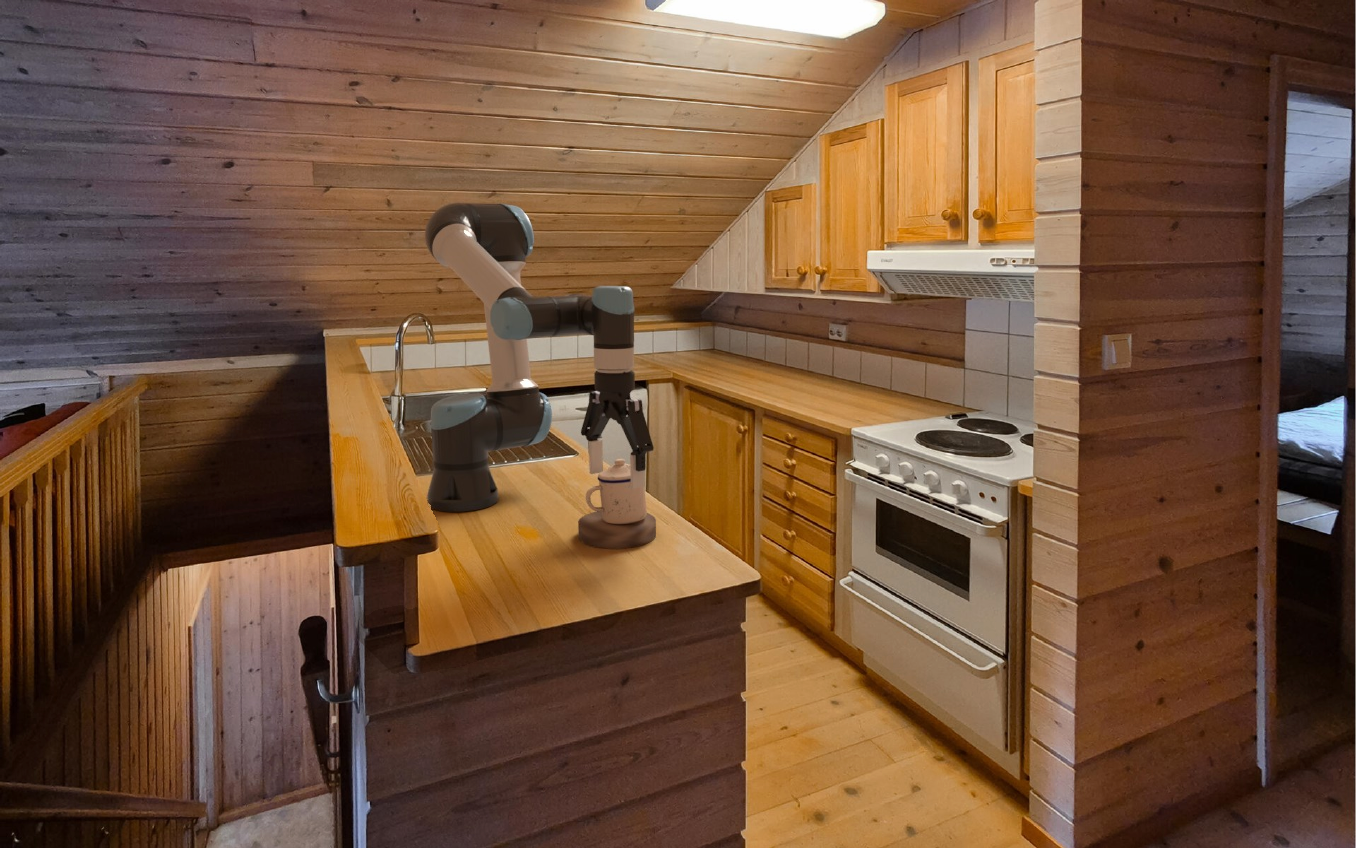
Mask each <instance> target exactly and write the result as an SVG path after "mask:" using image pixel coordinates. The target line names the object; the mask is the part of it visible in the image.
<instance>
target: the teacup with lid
mask: <svg viewBox="0 0 1356 848" xmlns="http://www.w3.org/2000/svg"><path fill="white" fill-rule="evenodd" d="M597 481H598V482H599V484H598V485H595V486H592V487H590V488H589V489H588V490H586V493H585V501H586V504H587V506H588V507H589V509H591V510H592V511H593V512H597V511H602V516H603V520H604V521H605V522H607V523H611V524H628V523H633V522H637V521H640V520H642V519H644V518H645V517H646V515H647V513H648V512H647V511H648V510H647V501H646V489H645V486H644V487H639V488H635V489H632V488H631V473H630V463H626V460H625V459H624V458H618V459H615V460H614V464H613V465H611V466H609V467H608V468H607V469H603V471H602V472H600V473H598V475H597ZM596 491H599V493H600V504H601V506H597V507H596V506H594V505H593V503H592V501H591V496H592V495H593V493H594V492H596Z"/></svg>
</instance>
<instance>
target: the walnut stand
mask: <svg viewBox="0 0 1356 848" xmlns="http://www.w3.org/2000/svg"><path fill="white" fill-rule="evenodd" d="M577 523H578V527H577V528H578V539H579V541H580V542H581V543H582V544H585V545H587V546H589V547H592V548H593V547H594V548H598V549H606V550H607V549H608V550H609V549H610V550H621V549H623V550H624V549H631V548H637V547H640V546H641V547H642V546H644V545H646V544H649V543H651V542H652V541H654V540H655V539H656V537H657V536H656V535H657V519H656V517H655V516H654V515H652V514H650V513H648V512H647V515H646V517H645V518H644V519H642V520H640V521H637V522H633V523H628V524H611V523H607V522H605V521H604V520H603V516H602V511H593V512H590V513H587V514H585V515H583V516H581V517H580V518H579V519H578V522H577Z"/></svg>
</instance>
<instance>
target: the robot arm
mask: <svg viewBox="0 0 1356 848" xmlns="http://www.w3.org/2000/svg"><path fill="white" fill-rule="evenodd" d="M534 236H535V235H534V229H533V226H532V223H531V221H530V218H529V217H528V215H527V213H525V212H524V210H523V209H522V208H521V207H518V206H517V205H511V204H504V203H465V202H452V203H448V204H445V205H443V206H441V207H440V208H438V209H437V210H435V211H434V212H433V214H432V215H431V216H430V217H429V219H428V221H427V223H426V226H425V229H424V241H425V245H426V247H427V250H428V252H429V253H430V255H431V257H433V258H434V259H435V260H436V262H437V263H438V264H440V265H441V266H443V267H447V268H450V269H451V270H452V271H453V272H454V273H455V274H456V275H457V277H458V278H460V280H462V282H464V284H465V285H466V286H467V287H468V288H469V289H470V290H471V291H472V292H473V293H474V294H475V296H477V297H478V299H480V300H481V302H482V303H483V308H484V315H485V326H486V327H485V328H486V334H487V344H488V345H487V346H488V353H489V362H490V371H491V380H492V382H491V384H490V385H489V386H488V388H487V389H486V397H485V396H484V395H485V394H482V393H476V392H475V393H474V392H473V393H465V394H464V393H461V394H455V395H452V396H448V397H444V398H442V399H439V400H438V401H436V402H435V403H433V405H432V406H431V408H430V421H429V422H430V423H429V427H430V429H431V430H430V433H431V445H432V446H431V447H432V460H433V472H432V476H431V480H430V483H429V486H428V491H427V493H426V496H427V497H426V498H427V499H428V501H427V504H428V503H429V504H430V505H431V508H430V509H432V510H435V511H440V512H447V513H448V512H449V513H451V512H452V513H453V512H454V513H457V512H458V513H459V512H469V511H470V512H471V511H478V510H482V509H486V508H489V507H492V506H493V505H495V504H497V503H498V502H499V490H498V486H497V485H496V482H495V479H494V477H493V474H492V472H491V469H490V467H489V453H490V452H494V451H501V450H502V451H503V450H507V449H515V448H519V447H530V446H531V445H536V444H539V443H541V442H542V441H544V440H545V439H546V437H547V436H548V434H549V433H550V430H551V426H552V421H553V409H552V404H551V402H549V398H548V396H547V395H546V394H544V393H542V392H540V389H539V385H538V384H537V383H536V382H535V381H534V379H532V376H531V368H530V367H531V366H530V365H531V364H530V358H529V357H530V356H529V346H528V339H529V340H530V339H536V338H538V339H539V338H547V337H549V338H550V337H552V338H553V337H563V336H564V337H565V336H579V335H580V336H581V335H582V336H583V335H584V336H585V335H586V336H587V335H588V336H593V367H594V369H596V371H595V372H594V373H593V374H594V379H593V380H594V389H595V391H589V394H588V395H589V396H588V404H587V409H586V411H585V414H584V419H583V423H582V426H581V429H580V435H581V436H585V439H586V440H587V443H588V447H587V448H588V457H589V458H588V459H589V460H588V462H589V463H588V464H589V465H588V467H589V468H588V469H589V475H595V474H599V473H600V472H602V471H604V457H603V455H604V452H603V449H604V448H603V436H602V434H603V433H604V431H605V429H606V426H607V424H608V423H609V421H610V420H613V421H615V422H617V424H618V425H620V426H621V429H622V431H623V433H624V434H625V437H626V439H627V442H628V444H629V446H630V448H631V450H632V451H631V452H630V453H629V456H630V457H629V459H630V460H629V461H630V462H629V464H630V473H631V488H632V489H635V488H639V487H645V485H646V480H645V479H646V478H645V476H646V475H645V474H646V473H645V472H646V462H647V461H646V454H647V453H649V452H653V451H654V444H653V441H652V437H651V435H650V431H649V427H648V423H647V421H646V416H645V414H644V408H643V401H642V399H641V398H635V399H632V398H631V397H632V396H631V393H632V392H633V391H634V390H635V387H636V383H635V381H636V380H635V376H636V374H635V372H634V370H632V369H633V368H635V343H634V342H635V309H636V308H635V306H634V305H635V304H634V292H633V290H632V288H631V287H630V286H626V285H621V286H620V285H619V286H618V285H600V286H594V288H593V289H592V295H586V294H585V295H584V294H582V293H576V294H575V293H572V294H567V295H556V296H555V295H553V296H551V295H550V296H549V295H548V296H547V295H546V296H533V295H532V294H531V293H530V292H529V291H527V289H526V288H525V287H524V286H523V285H522V281H521V271H522V269H524V267H525V266H526V262H527V261H526V258H527V257H529V256H530V255H531V254H532V252H533V250H534V247H533V245H535V243H534V242H535V237H534Z"/></svg>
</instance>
